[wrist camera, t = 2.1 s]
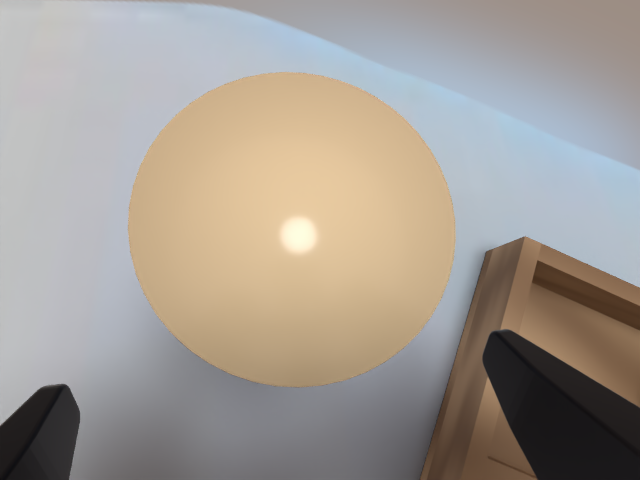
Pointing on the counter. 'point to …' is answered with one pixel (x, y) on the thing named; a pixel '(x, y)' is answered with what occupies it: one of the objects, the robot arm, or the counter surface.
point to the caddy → (544, 331)
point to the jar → (291, 229)
